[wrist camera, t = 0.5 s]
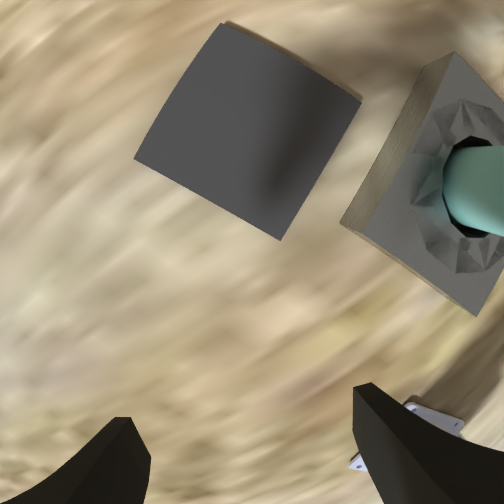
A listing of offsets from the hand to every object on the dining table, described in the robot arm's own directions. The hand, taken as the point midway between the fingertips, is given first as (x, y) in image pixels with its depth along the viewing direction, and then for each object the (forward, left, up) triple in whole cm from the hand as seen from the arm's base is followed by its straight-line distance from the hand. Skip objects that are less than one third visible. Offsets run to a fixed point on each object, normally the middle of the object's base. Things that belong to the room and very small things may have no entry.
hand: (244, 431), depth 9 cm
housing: (-7, -13, -10) cm, 18 cm away
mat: (+5, -9, -10) cm, 14 cm away
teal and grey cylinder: (-7, -13, -10) cm, 18 cm away
